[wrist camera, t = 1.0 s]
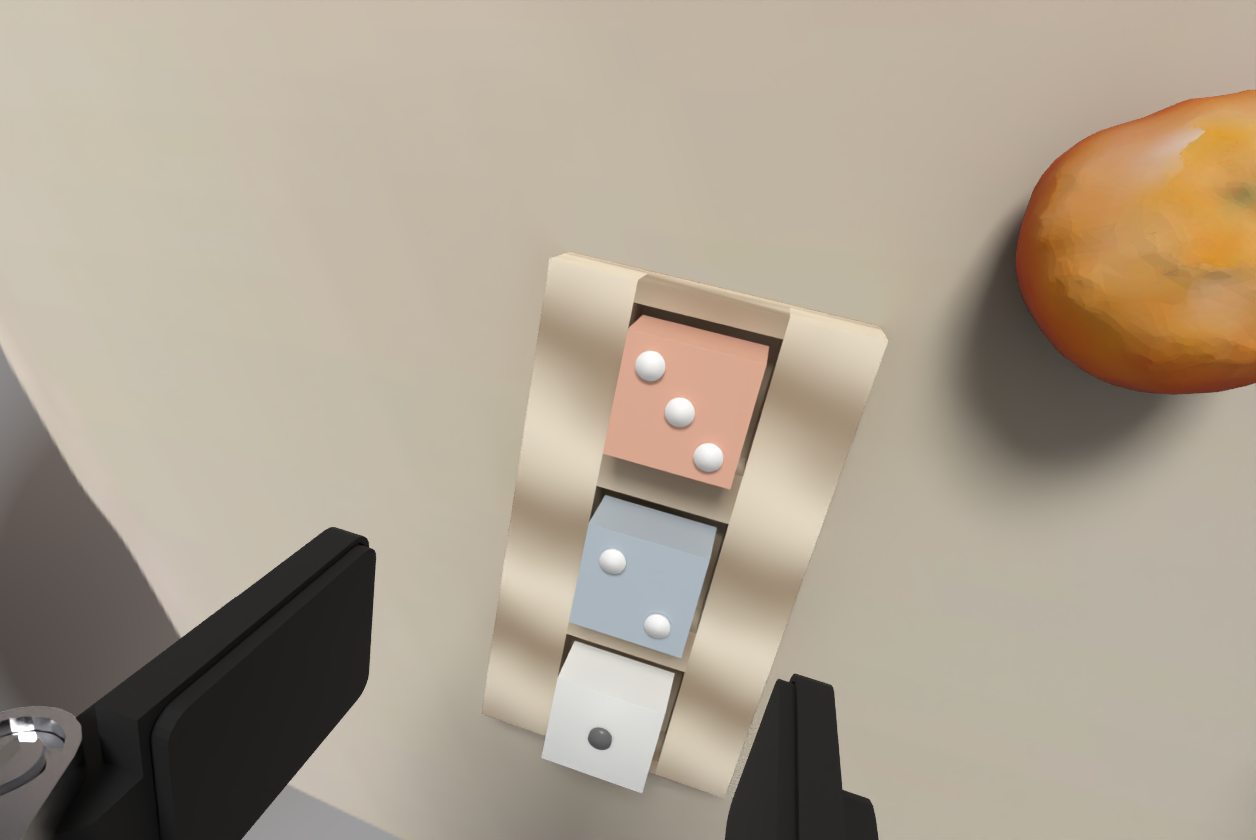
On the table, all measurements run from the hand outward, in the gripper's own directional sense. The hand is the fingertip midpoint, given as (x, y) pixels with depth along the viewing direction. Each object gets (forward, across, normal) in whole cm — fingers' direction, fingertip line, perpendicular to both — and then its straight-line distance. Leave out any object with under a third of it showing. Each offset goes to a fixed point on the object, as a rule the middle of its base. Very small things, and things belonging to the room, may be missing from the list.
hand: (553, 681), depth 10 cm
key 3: (+15, 0, 0) cm, 15 cm away
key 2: (+15, 0, +7) cm, 17 cm away
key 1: (+15, 0, +15) cm, 22 cm away
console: (+18, 0, +8) cm, 19 cm away
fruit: (+18, -12, -8) cm, 23 cm away
